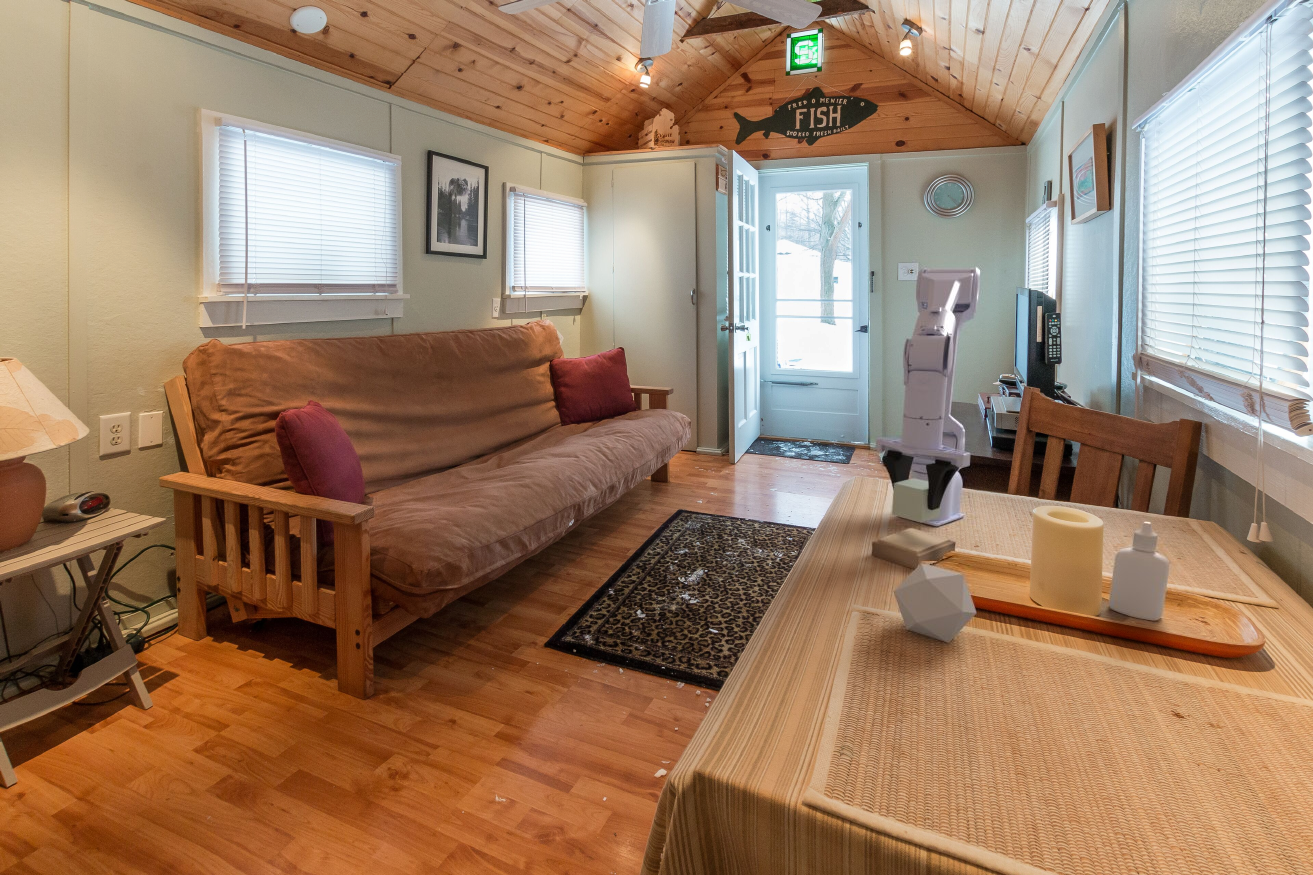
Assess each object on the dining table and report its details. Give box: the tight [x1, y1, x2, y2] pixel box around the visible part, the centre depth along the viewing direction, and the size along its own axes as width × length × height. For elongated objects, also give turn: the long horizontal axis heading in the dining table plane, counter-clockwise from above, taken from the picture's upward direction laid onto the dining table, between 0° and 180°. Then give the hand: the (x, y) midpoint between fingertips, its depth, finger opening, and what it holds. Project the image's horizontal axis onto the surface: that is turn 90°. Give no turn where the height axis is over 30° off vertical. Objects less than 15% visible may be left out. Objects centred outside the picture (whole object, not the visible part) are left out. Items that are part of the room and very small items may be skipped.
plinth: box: [871, 527, 956, 570], centre depth 111 cm, size 10×8×3 cm
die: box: [892, 563, 977, 644], centre depth 85 cm, size 8×9×10 cm
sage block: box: [891, 478, 941, 523], centre depth 109 cm, size 5×5×5 cm
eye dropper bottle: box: [1108, 521, 1171, 622], centre depth 90 cm, size 4×6×12 cm
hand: (916, 504), depth 109 cm, fingers closed on sage block, 5 cm apart
